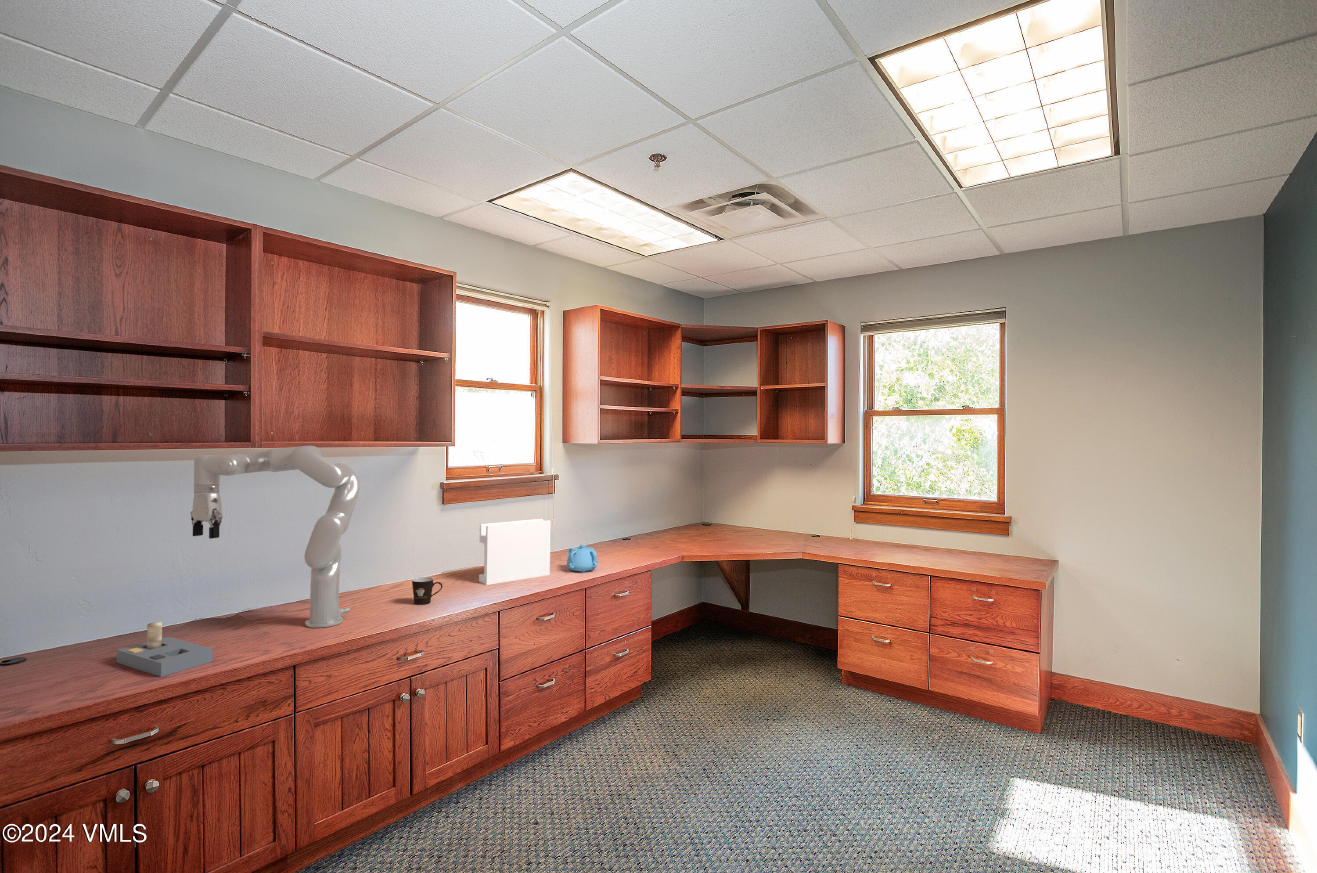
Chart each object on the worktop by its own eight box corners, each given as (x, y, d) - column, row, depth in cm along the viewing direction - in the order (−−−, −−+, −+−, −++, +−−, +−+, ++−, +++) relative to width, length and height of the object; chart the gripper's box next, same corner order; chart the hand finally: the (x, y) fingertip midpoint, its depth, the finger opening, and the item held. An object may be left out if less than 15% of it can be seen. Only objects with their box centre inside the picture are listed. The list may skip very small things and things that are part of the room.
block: (486, 585, 298) (487, 526, 297) (478, 581, 304) (479, 524, 303) (549, 574, 321) (550, 520, 321) (541, 572, 327) (542, 518, 327)
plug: (157, 652, 198) (158, 621, 198) (164, 654, 197) (164, 623, 197) (144, 656, 195) (144, 624, 195) (150, 658, 194) (151, 626, 194)
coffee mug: (406, 604, 262) (407, 580, 262) (420, 599, 270) (421, 576, 270) (429, 607, 258) (430, 583, 258) (443, 602, 266) (443, 578, 266)
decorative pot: (597, 573, 326) (598, 547, 326) (566, 573, 324) (566, 547, 324) (597, 567, 342) (597, 542, 342) (567, 567, 340) (568, 542, 340)
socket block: (168, 648, 205) (168, 635, 205) (212, 661, 195) (212, 647, 195) (116, 662, 192) (116, 648, 192) (161, 676, 182) (161, 662, 182)
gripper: (232, 489, 225) (231, 537, 225) (203, 487, 232) (202, 533, 232) (209, 491, 218) (209, 540, 218) (180, 488, 225) (180, 536, 225)
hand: (205, 536), depth 225 cm, fingers open, 9 cm apart
